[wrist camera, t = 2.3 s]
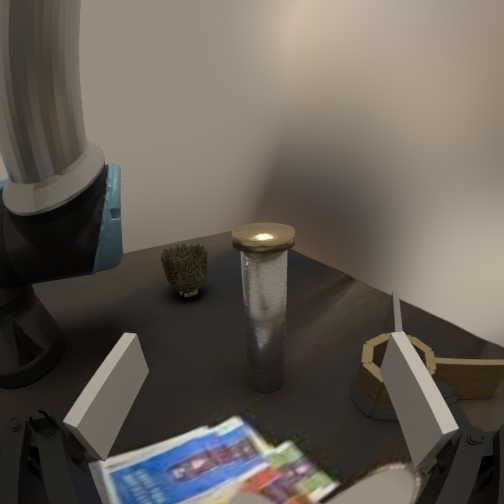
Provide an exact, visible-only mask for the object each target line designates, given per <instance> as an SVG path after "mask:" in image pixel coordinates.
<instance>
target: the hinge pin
mask: <svg viewBox="0 0 504 504" xmlns="http://www.w3.org/2000/svg"><path fill="white" fill-rule="evenodd" d="M232 243H233V247H234V248H235V249H237V250H239V251H241V265H242V283H243V301H244V318H245V334H246V350H247V366H248V381H249V385H250V387H251V388H252V389H253V390H255V391H257V392H260V393H271V392H274V391H276V390H278V389H279V388H280V387H281V386H282V384H283V373H284V352H285V326H286V290H287V250H288V249H290V248H292V247H293V246H294V245H295V229H294V228H293V227H291V226H288V225H284V224H279V223H253V224H246V225H243V226H239V227H237V228H235V229H233V230H232Z"/></svg>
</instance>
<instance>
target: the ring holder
mask: <svg viewBox="0 0 504 504" xmlns="http://www.w3.org/2000/svg"><path fill="white" fill-rule="evenodd" d="M394 332H402V322H401V312H400V303H399V295H398V291H392V296H391V300H390V305H389V310H388V314H387V318H386V334H382V335H380V336H377V337H375V338H373V339H371V340H369V341H367V342H365V344H364V345H363V349H362V353H361V357H360V361H359V365H358V369H357V372H356V376H355V379H354V384H353V389H352V394H351V398H352V401H353V402H354V403H355V404H356V405H357V406H358V407H359V408H360V409H361V411H362V412H363V413H364V414H365V415H366V416H367V417H368V416H370V415H371V418H372V419H382V420H392V421H397V420H398V417H397V415H396V412H395V409H394V407H393V404H392V402H391V399H390V396H389V394H388V391H387V389H386V386H385V384H384V381H383V379H382V377H381V374H380V369H381V365H382V362H383V359H384V355H385V352H386V349H387V345H388V341H389V338H390V334H391V333H394ZM406 336H407V338H408V339H409V341H410V342H411V344H412V346H413V347H414V349H415V350H416V352H417V354H418V355H419V357H420V359H421V360H422V362H423V364H424V365H425V367H426V369H427V370H428V372H429V374H430V376H431V377H432V379H433V381H434V383H436V382H439V381H443V382H444V383H445V384H446V385H448V386H449V387H450V389H451V390H452V392H453V394H454V397H456V399H487V398H491V397H492V395H493V394H494V392H495V391H496V389H497V387H498V386H499V384H500V383H501V381H502V379H503V378H504V360H474V359H450V358H434V352H433V351H431V350H432V349H431V348H429V347H428V346H426V345H425V344H424V343H422V342H421V341H419V340H418V339H416V338H415V337H412V338H411V335H406Z"/></svg>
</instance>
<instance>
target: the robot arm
mask: <svg viewBox="0 0 504 504" xmlns="http://www.w3.org/2000/svg"><path fill="white" fill-rule="evenodd" d="M80 7H81V0H0V152H1V156H2V159H3V162H4V165H5V168H6V170H7V173H8V178H7V179H1V180H0V386H1V387H5V388H15V387H20V386H24V385H27V384H29V383H32V382H34V381H35V380H37V379H39V378H40V377H42V376H43V375H44V374H46V373H47V372H48V371H49V370H50V369H51V368H52V367H53V366H54V365H55V364H56V362H57V361H58V359H59V358H60V356H61V354H62V351H63V348H64V338H63V336H62V333H61V331H60V329H59V326H58V324H57V323H56V321H55V320H54V319H53V318H52V316H51V315H50V314H49V312H48V311H47V310H46V308H45V307H44V305H43V304H42V303H41V301H40V300H39V299H38V297H37V296H36V294H35V292H34V289H33V286H32V284H36V283H42V282H48V281H54V280H60V279H66V278H72V277H78V276H85V275H94V274H95V273H96V272H100V271H104V270H108V269H112V268H115V267H116V266H118V265H119V264H120V262H121V260H122V257H123V247H122V232H121V205H120V204H121V203H120V177H121V176H120V174H121V169H120V166H118V165H116V164H107V165H105V161H104V155H103V151H102V149H101V148H100V147H99V146H98V145H96V144H95V143H93V142H91V141H89V140H87V139H86V135H85V128H84V120H83V113H82V112H83V111H82V101H81V90H80V73H79V22H80ZM148 372H149V370H148V367H147V364H146V361H145V358H144V355H143V352H142V349H141V346H140V343H139V340H138V337H137V334H133V333H124V334H123V336H122V337H121V338H120V340H119V341H118V342H117V344H116V345H115V346H114V348H113V349H112V350H111V352H110V353H109V355H108V356H107V357H106V359H105V360H104V362H103V363H102V364H101V366H100V367H99V369H98V370H97V371H96V373H95V374H94V376H93V377H92V379H91V380H90V381H88V380H84V381H83V382H81V383H80V384H79V385H77V387H76V388H75V389H74V391H73V392H72V394H71V395H70V397H69V399H68V400H67V401H66V402H65V404H64V405H63V407H62V408H61V410H60V411H59V413H58V414H57V416H56V417H55V419H54V418H53V416H52V415H51V414H50V412H49V411H48V410H47V409H44V408H37V409H35V410H33V411H32V412H31V413H30V414H29V415H28V418H27V422H28V423H29V424H27V423H26V421H25V420H24V419H23V418H22V417H19V416H16V417H13V418H11V419H10V420H9V421H8V422H7V425H6V428H5V433H4V438H3V442H2V448H1V453H0V504H103V503H102V501H101V499H100V496H99V494H98V491H97V489H96V486H95V483H94V480H93V478H92V475H91V472H90V469H89V466H88V463H87V459H86V457H85V455H84V453H85V451H87V452H88V453H89V454H90V455H91V456H92V457H95V458H97V459H100V460H102V461H105V460H106V458H107V456H108V454H109V451H110V449H111V447H112V445H113V443H114V441H115V439H116V437H117V435H118V433H119V430H120V428H121V426H122V424H123V422H124V420H125V418H126V416H127V414H128V412H129V410H130V408H131V406H132V404H133V402H134V400H135V398H136V396H137V394H138V392H139V390H140V388H141V386H142V384H143V382H144V380H145V378H146V376H147V374H148ZM380 374H381V377H382V379H383V381H384V384H385V386H386V389H387V391H388V394H389V396H390V399H391V402H392V404H393V407H394V409H395V412H396V415H397V417H398V420H399V423H400V425H401V428H402V431H403V434H404V437H405V440H406V442H407V445H408V448H409V451H410V454H411V457H412V460H413V464H414V467H415V468H417V467H420V466H423V465H426V464H429V463H430V462H431V461H432V460H433V459H434V458H435V457H436V459H437V463H436V464H435V465H434V466H433V467H432V468H431V469H430V471H429V472H428V474H430V473H431V472H432V473H431V476H430V478H429V480H428V482H427V484H426V486H425V488H424V490H423V492H422V494H421V496H420V498H419V500H418V502H417V503H416V504H504V424H503V425H502V426H501V427H500V429H499V430H498V431H491V432H483V431H482V429H480V428H478V427H472V426H471V424H470V423H469V421H468V419H467V417H466V415H465V413H464V411H463V410H462V408H461V406H460V404H459V403H458V401H457V399H456V397H454V394H453V392H452V390H451V389H450V387H449V386H448V385H446V384H445V383H444V382H443V381H439V382H436V383H434V381H433V379H432V377H431V376H430V374H429V372H428V370H427V369H426V367H425V365H424V364H423V362H422V360H421V359H420V357H419V355H418V354H417V352H416V350H415V349H414V347H413V346H412V344H411V342H410V341H409V339H408V338H407V336H406V335H405V333H404V331H402V332H394V333H391V334H390V338H389V341H388V345H387V349H386V352H385V355H384V359H383V362H382V365H381V369H380ZM28 455H29V459H28ZM27 459H28V460H27Z"/></svg>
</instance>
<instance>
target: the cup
mask: <svg viewBox="0 0 504 504" xmlns="http://www.w3.org/2000/svg"><path fill="white" fill-rule="evenodd" d="M160 256H161V260H162V264H163V267H164V271H165V274H166V277H167V280H168V282H169V284H170V285H171V287H172V288H174V289H175V290H177V291H178V295H179V296H180V297H181V298H182V299H185V300H190V299H194V298H196V297H198V296H199V293H200V289H199V288H200V287H201V286H202V285H203V284H204V282H205V279H206V274H207V249H206V251H205V250H204V246H202V247H201V245H200V244H197V245H195V246H194V247H193V245H192V243H191V244H190V246H189V249H188V248H187V246H186V245H185V244H182V247H181V246H179V245H177V246H176V248H175V251H174V250H173V247H172V246H171V247H170V251H168V250H167V249H163V252H160Z"/></svg>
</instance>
